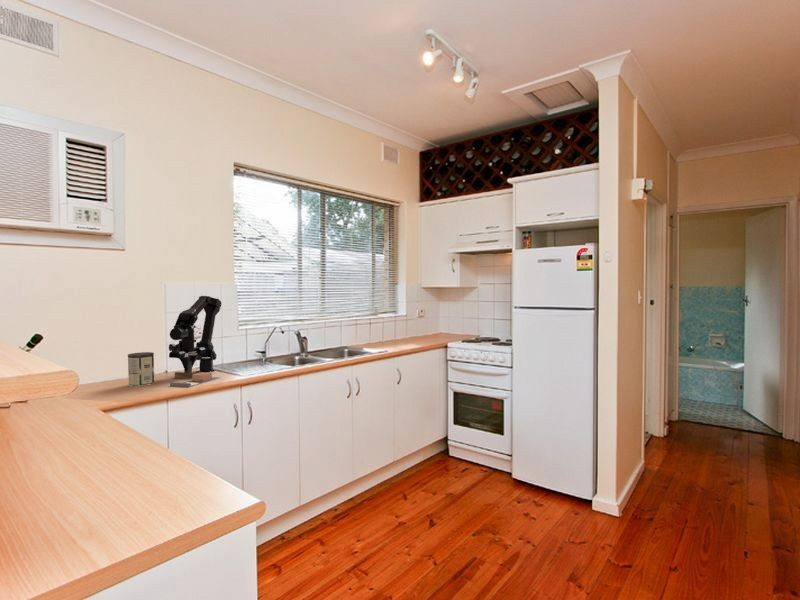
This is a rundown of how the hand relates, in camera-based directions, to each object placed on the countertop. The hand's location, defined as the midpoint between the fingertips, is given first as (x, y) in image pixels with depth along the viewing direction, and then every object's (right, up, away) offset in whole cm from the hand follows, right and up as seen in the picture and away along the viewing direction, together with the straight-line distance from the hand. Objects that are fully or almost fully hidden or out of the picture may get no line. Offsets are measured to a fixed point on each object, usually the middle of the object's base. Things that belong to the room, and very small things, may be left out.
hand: (188, 370), depth 219 cm
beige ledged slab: (0, -4, 0) cm, 4 cm away
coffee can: (-14, -4, -16) cm, 21 cm away
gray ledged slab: (+10, -4, -11) cm, 15 cm away
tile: (+10, -4, -8) cm, 13 cm away
